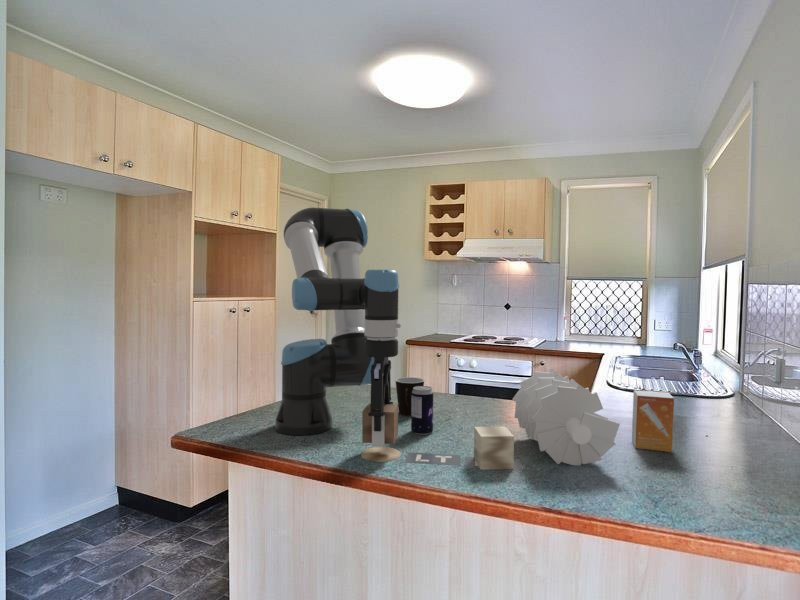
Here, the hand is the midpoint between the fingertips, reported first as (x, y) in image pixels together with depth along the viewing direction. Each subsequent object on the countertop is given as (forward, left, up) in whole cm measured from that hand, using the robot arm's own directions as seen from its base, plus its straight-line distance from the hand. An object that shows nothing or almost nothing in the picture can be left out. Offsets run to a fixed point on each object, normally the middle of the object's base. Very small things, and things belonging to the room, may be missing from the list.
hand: (381, 439), depth 114 cm
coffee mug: (+2, +36, -4) cm, 36 cm away
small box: (+64, +16, -4) cm, 66 cm away
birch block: (+25, -2, -4) cm, 25 cm away
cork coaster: (0, 0, -4) cm, 4 cm away
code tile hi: (+25, -2, -4) cm, 25 cm away
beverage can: (+8, +18, -4) cm, 20 cm away
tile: (+12, -1, -4) cm, 13 cm away
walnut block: (0, 0, 0) cm, 0 cm away
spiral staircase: (+41, +9, -4) cm, 42 cm away
